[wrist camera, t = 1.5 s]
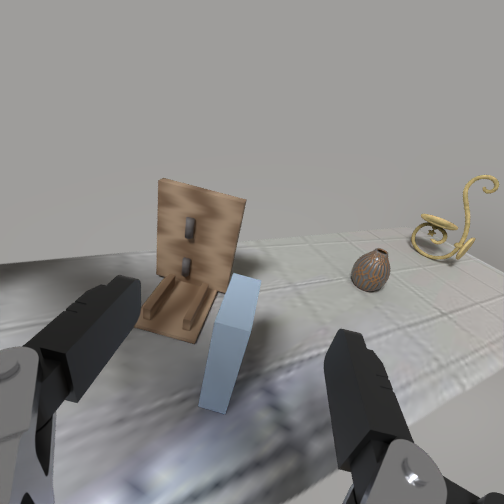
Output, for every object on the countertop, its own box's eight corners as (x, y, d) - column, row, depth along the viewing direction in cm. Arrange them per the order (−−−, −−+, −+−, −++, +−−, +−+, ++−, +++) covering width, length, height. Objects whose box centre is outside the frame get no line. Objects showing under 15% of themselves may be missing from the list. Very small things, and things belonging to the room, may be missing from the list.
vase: (342, 283, 53) (360, 248, 49) (352, 271, 58) (369, 238, 54) (374, 301, 50) (396, 265, 46) (382, 287, 55) (403, 254, 51)
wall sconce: (456, 266, 73) (520, 183, 61) (444, 273, 68) (513, 183, 55) (410, 242, 82) (458, 165, 69) (396, 246, 77) (446, 163, 64)
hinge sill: (118, 322, 33) (108, 206, 25) (160, 272, 44) (163, 177, 35) (205, 347, 33) (225, 238, 24) (227, 290, 43) (246, 199, 35)
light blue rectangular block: (198, 406, 27) (214, 322, 20) (216, 352, 33) (233, 272, 26) (225, 414, 27) (250, 332, 20) (238, 358, 33) (261, 280, 26)
